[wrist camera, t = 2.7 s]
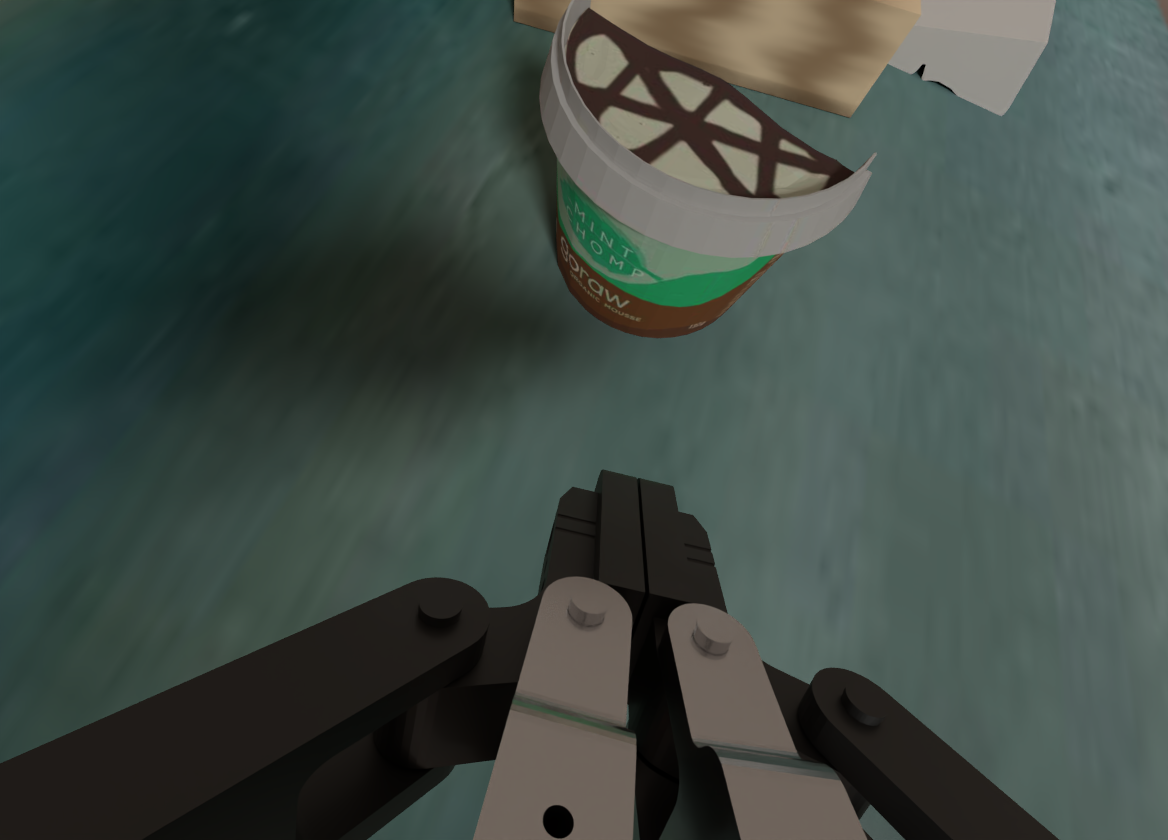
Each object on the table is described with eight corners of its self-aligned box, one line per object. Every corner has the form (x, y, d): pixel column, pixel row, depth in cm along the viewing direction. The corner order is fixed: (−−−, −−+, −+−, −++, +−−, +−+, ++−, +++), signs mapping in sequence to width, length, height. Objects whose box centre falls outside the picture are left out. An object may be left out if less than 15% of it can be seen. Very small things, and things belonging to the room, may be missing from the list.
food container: (473, 262, 26) (461, 63, 17) (550, 182, 29) (577, -33, 19) (696, 414, 25) (812, 290, 16) (758, 319, 28) (891, 162, 18)
